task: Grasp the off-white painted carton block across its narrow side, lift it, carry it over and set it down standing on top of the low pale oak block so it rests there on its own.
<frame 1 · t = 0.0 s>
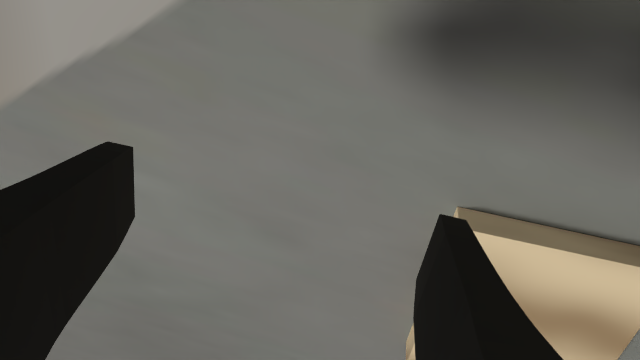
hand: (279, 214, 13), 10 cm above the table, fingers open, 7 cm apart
oak block: (520, 293, 27), on the table
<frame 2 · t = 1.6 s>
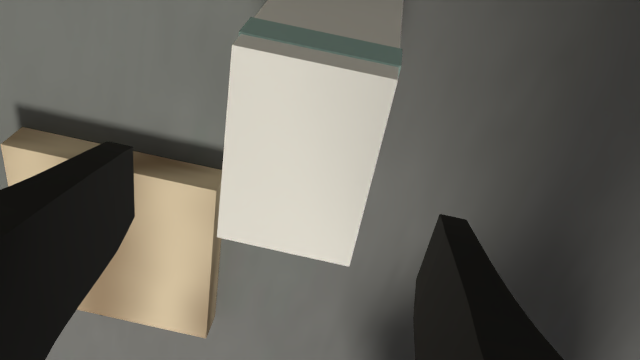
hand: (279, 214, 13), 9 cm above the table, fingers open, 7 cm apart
carton block: (330, 68, 21), on the table
oak block: (131, 223, 27), on the table
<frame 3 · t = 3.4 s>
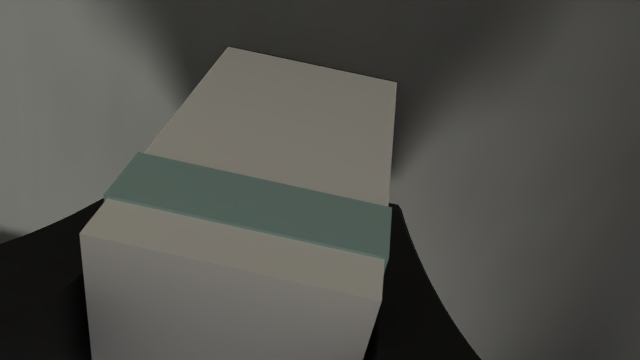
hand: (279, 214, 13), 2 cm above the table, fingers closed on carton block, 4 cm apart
carton block: (294, 171, 15), on the table, touching gripper
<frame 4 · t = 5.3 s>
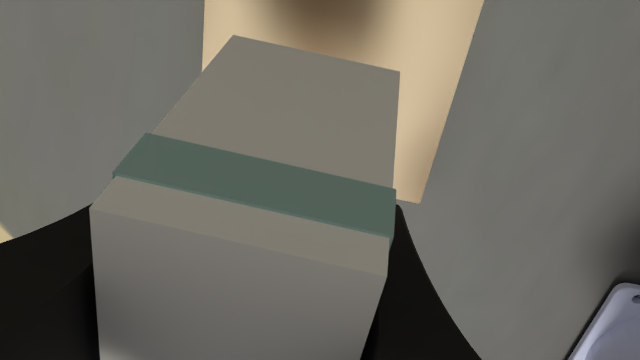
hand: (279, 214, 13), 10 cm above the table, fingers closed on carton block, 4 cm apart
carton block: (297, 160, 15), point 8 cm above the table, touching gripper
oak block: (333, 56, 22), on the table
when the fingers open (5 cm above the table, at t = 7.2 s): carton block drops 1 cm, point 1 cm above the table.
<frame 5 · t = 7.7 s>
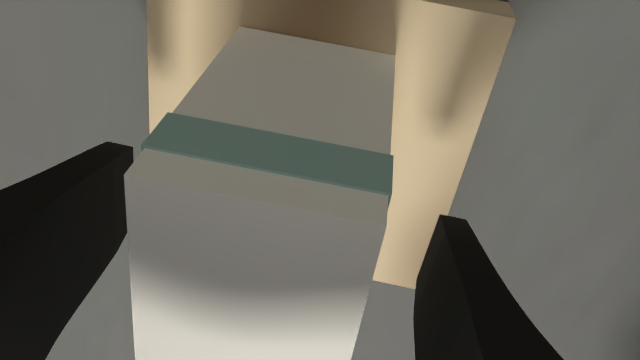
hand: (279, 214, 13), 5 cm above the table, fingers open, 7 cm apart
carton block: (302, 142, 16), point 1 cm above the table
oak block: (314, 112, 18), on the table
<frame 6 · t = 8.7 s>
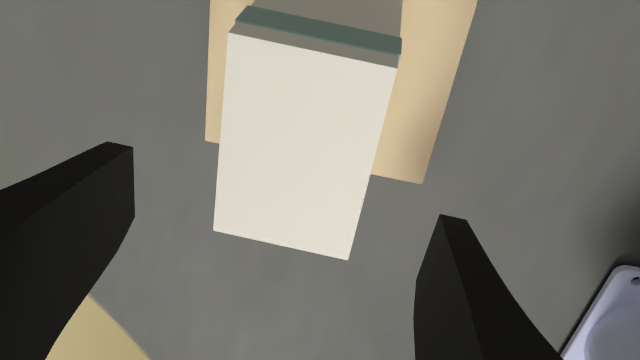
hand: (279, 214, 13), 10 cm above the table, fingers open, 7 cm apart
carton block: (329, 60, 20), point 1 cm above the table, touching oak block
oak block: (336, 39, 22), on the table, touching carton block
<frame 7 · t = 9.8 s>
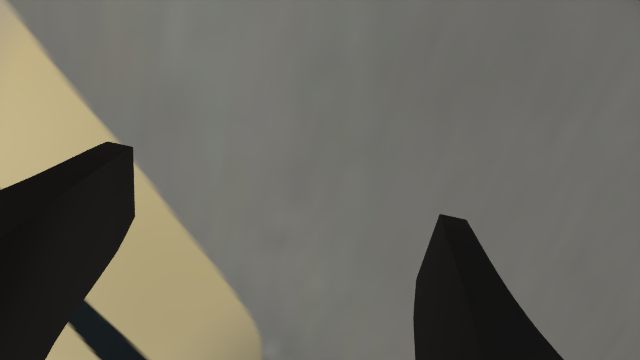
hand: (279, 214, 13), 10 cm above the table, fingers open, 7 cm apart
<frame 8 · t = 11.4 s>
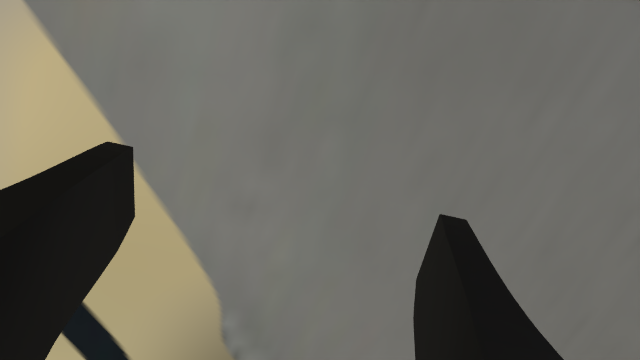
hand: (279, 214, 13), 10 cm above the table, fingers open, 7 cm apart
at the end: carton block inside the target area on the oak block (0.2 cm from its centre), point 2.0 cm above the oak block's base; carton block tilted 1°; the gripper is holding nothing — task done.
